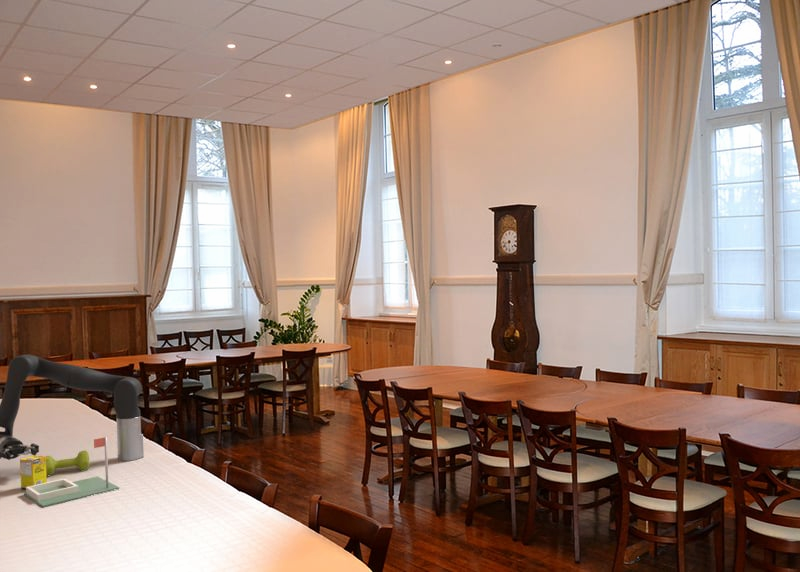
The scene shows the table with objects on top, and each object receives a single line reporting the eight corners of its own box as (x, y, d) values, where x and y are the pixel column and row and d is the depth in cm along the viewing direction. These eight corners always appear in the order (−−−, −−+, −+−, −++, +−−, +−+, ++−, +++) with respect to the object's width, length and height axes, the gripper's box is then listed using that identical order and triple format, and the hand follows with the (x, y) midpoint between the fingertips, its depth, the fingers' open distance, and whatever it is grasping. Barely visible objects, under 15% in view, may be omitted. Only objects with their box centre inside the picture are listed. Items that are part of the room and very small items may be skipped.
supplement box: (47, 485, 246) (46, 455, 245) (33, 490, 240) (32, 460, 240) (34, 484, 248) (33, 454, 247) (20, 489, 242) (19, 459, 242)
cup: (97, 477, 254) (95, 428, 253) (119, 489, 239) (117, 436, 239) (24, 494, 236) (22, 441, 236) (43, 507, 222) (41, 451, 221)
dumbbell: (42, 478, 255) (42, 459, 255) (41, 473, 262) (41, 455, 262) (90, 471, 263) (89, 452, 263) (88, 466, 270) (87, 448, 270)
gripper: (-12, 440, 258) (0, 448, 246) (29, 434, 268) (43, 441, 256) (-11, 460, 258) (1, 468, 246) (29, 453, 268) (43, 460, 257)
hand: (22, 454), depth 251 cm, fingers open, 8 cm apart
